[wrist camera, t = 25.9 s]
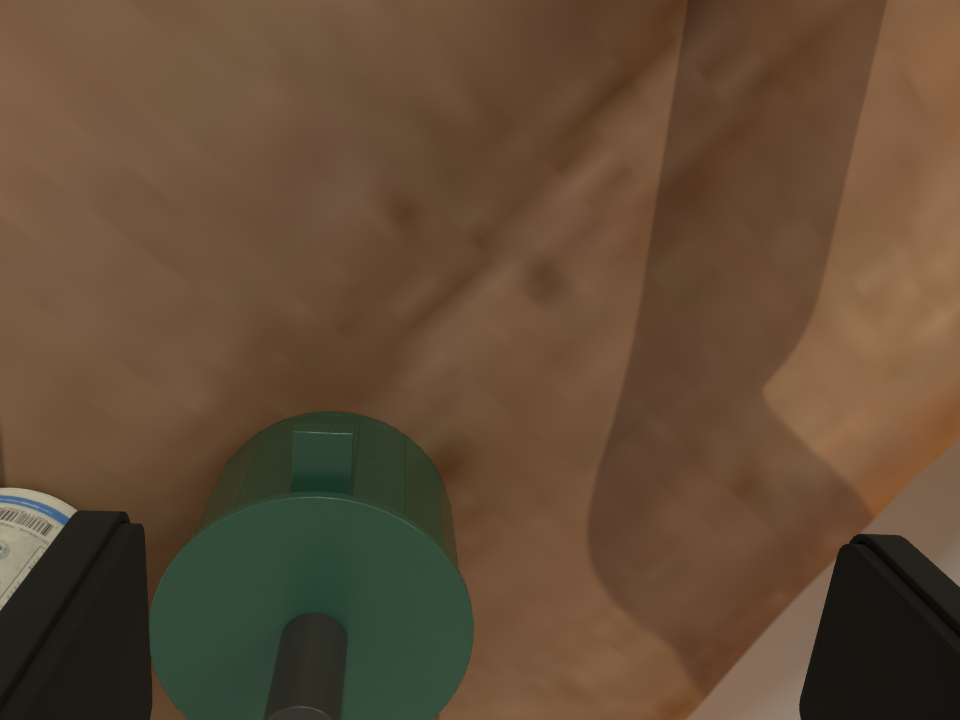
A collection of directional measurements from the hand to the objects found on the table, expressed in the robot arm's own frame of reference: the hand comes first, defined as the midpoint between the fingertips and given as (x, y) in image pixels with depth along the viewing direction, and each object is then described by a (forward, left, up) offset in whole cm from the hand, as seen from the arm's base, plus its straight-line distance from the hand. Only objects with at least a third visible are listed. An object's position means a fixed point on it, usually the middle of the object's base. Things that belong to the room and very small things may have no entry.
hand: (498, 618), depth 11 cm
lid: (+4, +16, -21) cm, 27 cm away
